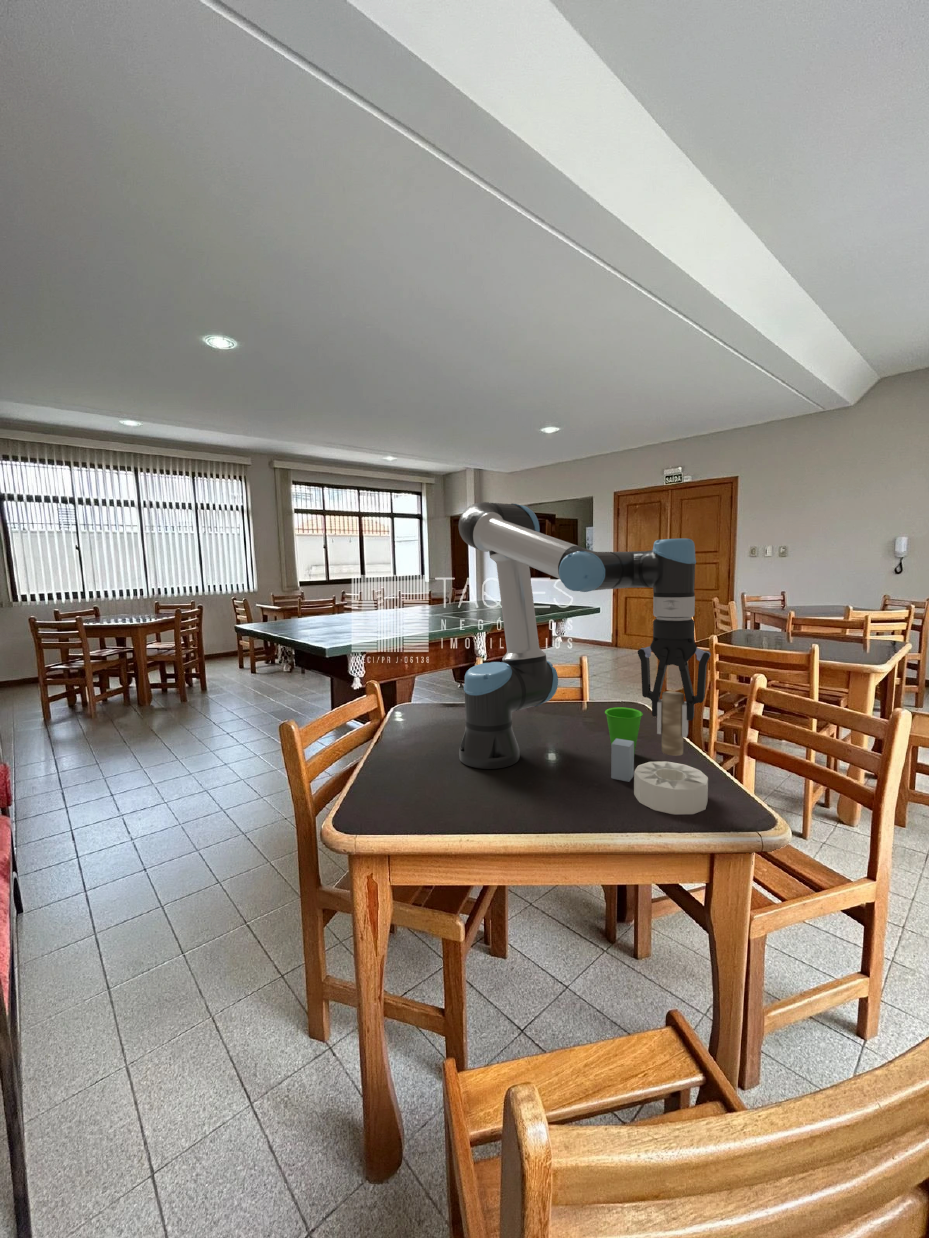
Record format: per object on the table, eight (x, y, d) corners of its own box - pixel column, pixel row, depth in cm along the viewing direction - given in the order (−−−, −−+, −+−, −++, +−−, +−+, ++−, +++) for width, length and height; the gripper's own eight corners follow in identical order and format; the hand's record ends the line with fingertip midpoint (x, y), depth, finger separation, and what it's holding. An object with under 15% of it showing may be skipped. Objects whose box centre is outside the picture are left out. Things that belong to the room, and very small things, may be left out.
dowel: (659, 753, 101) (660, 695, 99) (663, 747, 104) (663, 690, 103) (681, 757, 99) (682, 697, 97) (684, 750, 102) (685, 692, 101)
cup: (644, 762, 121) (645, 718, 120) (605, 760, 123) (606, 717, 121) (639, 749, 129) (640, 707, 128) (603, 747, 131) (603, 706, 130)
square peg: (611, 778, 113) (611, 743, 112) (615, 771, 116) (616, 738, 115) (629, 781, 111) (629, 746, 110) (633, 775, 114) (634, 741, 113)
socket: (628, 804, 100) (628, 780, 100) (642, 778, 112) (643, 757, 111) (702, 820, 93) (703, 794, 93) (709, 791, 105) (710, 768, 104)
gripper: (624, 619, 100) (624, 733, 102) (720, 621, 91) (718, 746, 93) (633, 615, 106) (633, 723, 109) (723, 617, 97) (721, 734, 100)
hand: (672, 733), depth 101 cm, fingers closed on dowel, 4 cm apart
